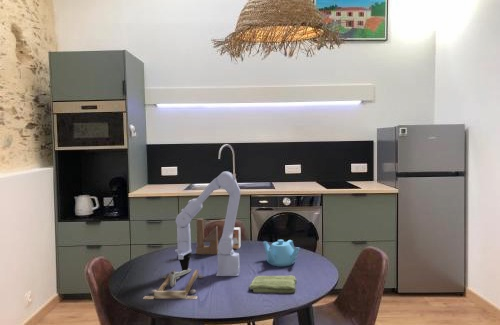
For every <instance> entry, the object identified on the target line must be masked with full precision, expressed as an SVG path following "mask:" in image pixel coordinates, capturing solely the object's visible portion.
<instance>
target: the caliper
mask: <svg viewBox="0 0 500 325" xmlns="http://www.w3.org/2000/svg"><path fill="white" fill-rule="evenodd" d="M191 271H192V269H191V268H189V267H188V270H183V271H182V270H180V271H176V270H175V271H172V270H171V272H170V273H171V276H170V282H169V283H170V284H169V285H170V288H174V287H176V283H177V280H178V279H180V277H182V276H184V275H186V274H188V273H191Z"/></svg>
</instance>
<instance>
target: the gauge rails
mask: <svg viewBox="0 0 500 325" xmlns="http://www.w3.org/2000/svg"><path fill="white" fill-rule="evenodd" d="M171 271H175V272H176V270H175V269H173V270H171ZM170 276H171V272H170V273H169V274H163V275H162V276H161V277H162V278H163V280H164V281H163V282H162V284H161V285H160V286H159V288H158V289H152V290H150V296H149V295H147V296H146V295H144V297H143V298H142V300H154V299H185V300H197V299H198V295H195V294H196V293H197V292H196V291H197V290H196V289H191V288H192V286H193V284H194V282H195V281H196V280H202V279H204V275H203V274H199V270H198V269H195V271H194V272H193V274H192V276H191V278H190V279H189V281H188V283H187V284H186V286H185V288H184V290H165V289H166V288H167V287H168V284H169V283H170ZM165 287H166V288H165Z"/></svg>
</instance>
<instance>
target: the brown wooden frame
mask: <svg viewBox="0 0 500 325" xmlns="http://www.w3.org/2000/svg"><path fill="white" fill-rule="evenodd" d="M204 224H205V223H204V218H202V217H201V218H200V217H199V218H196V245H197V246H196V247H195V248H196V253H195V254H196V255H213V256H215V255H217V256H218V248H217V247H218V244H219V232H218V229H219V228H218V225H216V227H214V228H213V229H212V230H211V231H210V232H209V234H208V235H207V236H206V237H205V230H204V229H205V228H204V227H205V226H204ZM205 241H207V242H209V245H205Z"/></svg>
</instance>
